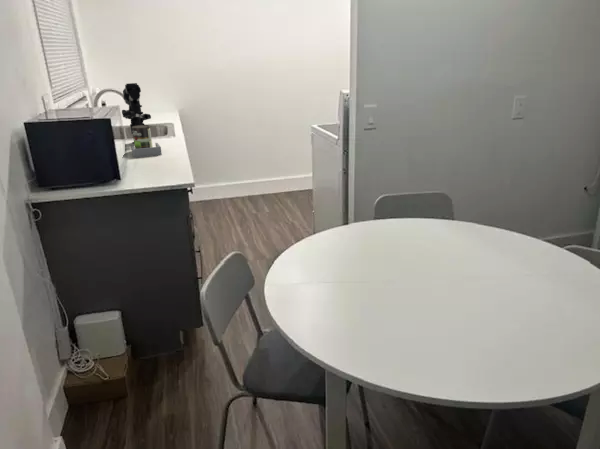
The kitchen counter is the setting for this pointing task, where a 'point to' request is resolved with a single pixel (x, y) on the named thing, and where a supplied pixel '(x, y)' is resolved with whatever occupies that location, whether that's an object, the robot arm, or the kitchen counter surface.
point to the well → (146, 151)
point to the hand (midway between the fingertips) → (139, 129)
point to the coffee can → (142, 136)
